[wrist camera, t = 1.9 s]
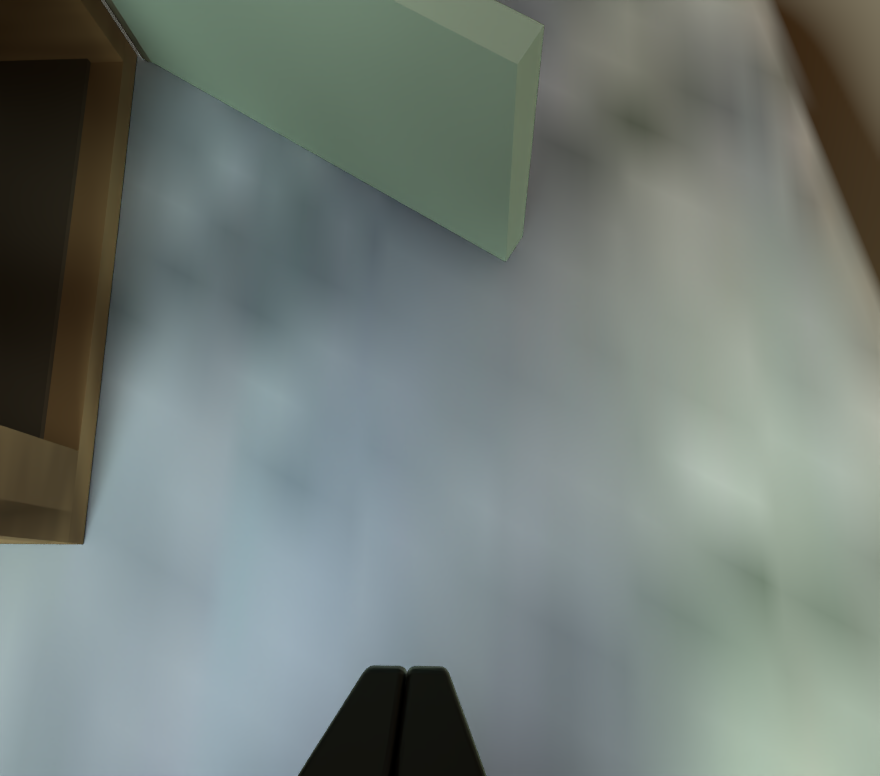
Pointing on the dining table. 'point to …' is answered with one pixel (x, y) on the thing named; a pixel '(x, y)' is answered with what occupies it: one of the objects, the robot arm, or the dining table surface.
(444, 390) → the dining table surface
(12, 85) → the walnut box
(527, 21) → the door
